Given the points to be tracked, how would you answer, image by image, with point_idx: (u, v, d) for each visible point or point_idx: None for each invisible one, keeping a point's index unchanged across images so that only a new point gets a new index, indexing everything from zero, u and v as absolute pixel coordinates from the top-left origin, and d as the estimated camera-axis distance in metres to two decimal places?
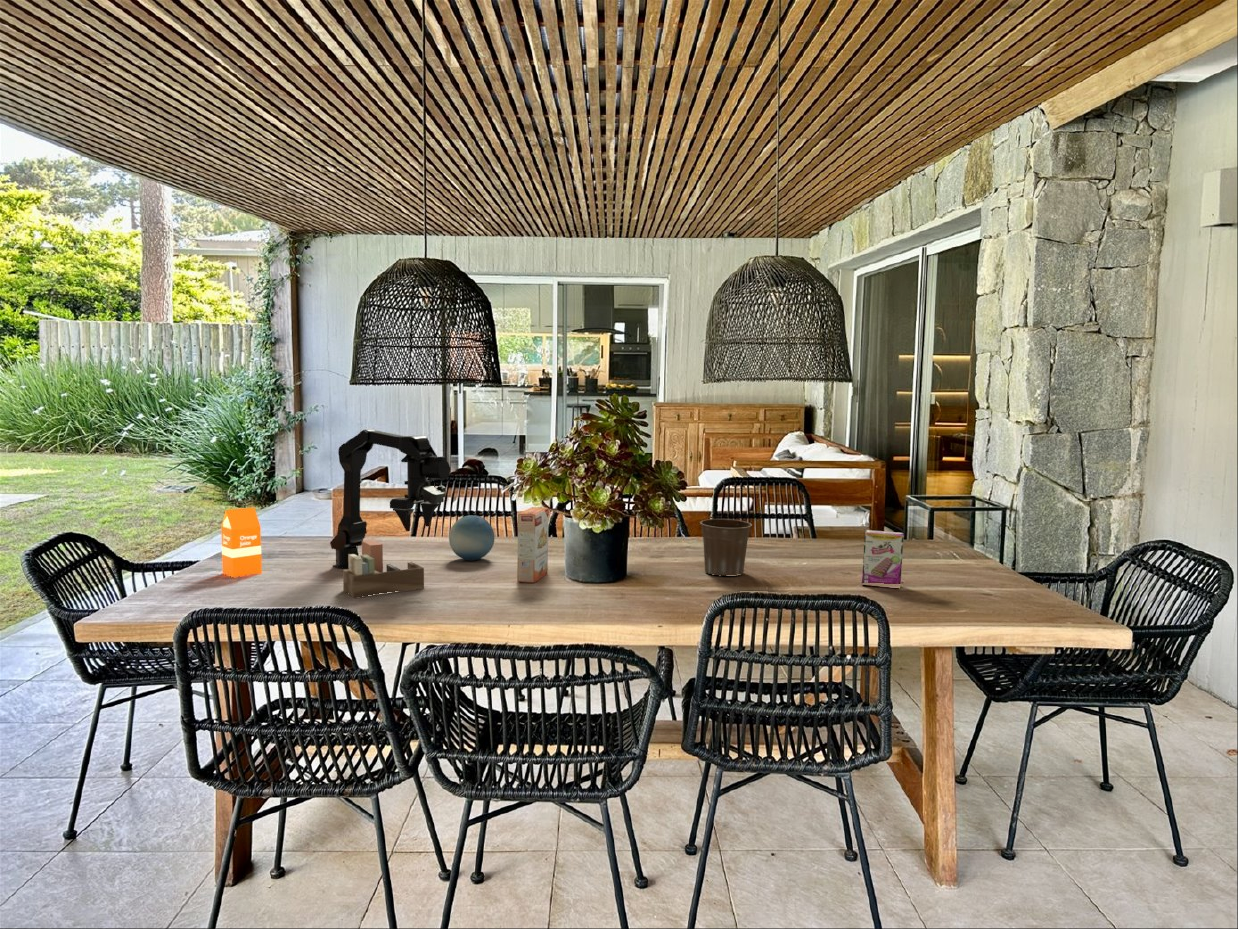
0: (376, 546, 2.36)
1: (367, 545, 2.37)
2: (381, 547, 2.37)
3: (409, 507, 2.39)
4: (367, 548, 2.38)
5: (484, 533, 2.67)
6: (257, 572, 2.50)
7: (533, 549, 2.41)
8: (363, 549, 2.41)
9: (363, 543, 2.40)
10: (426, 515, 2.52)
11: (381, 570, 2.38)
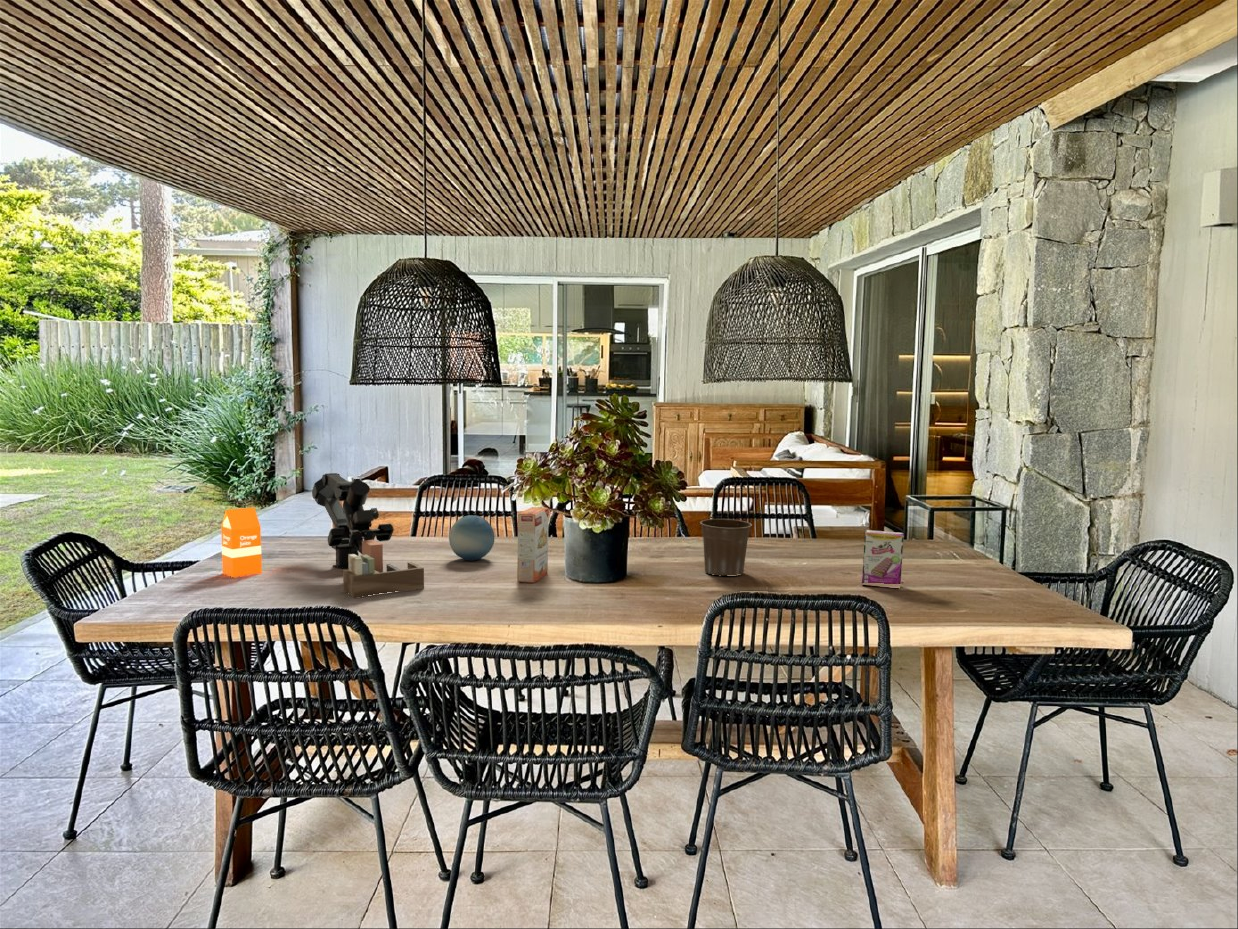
0: (376, 546, 2.36)
1: (367, 545, 2.37)
2: (381, 547, 2.37)
3: (338, 532, 2.41)
4: (367, 547, 2.38)
5: (484, 533, 2.67)
6: (257, 572, 2.50)
7: (533, 549, 2.41)
8: (363, 549, 2.41)
9: (363, 543, 2.40)
10: None
11: (381, 570, 2.38)
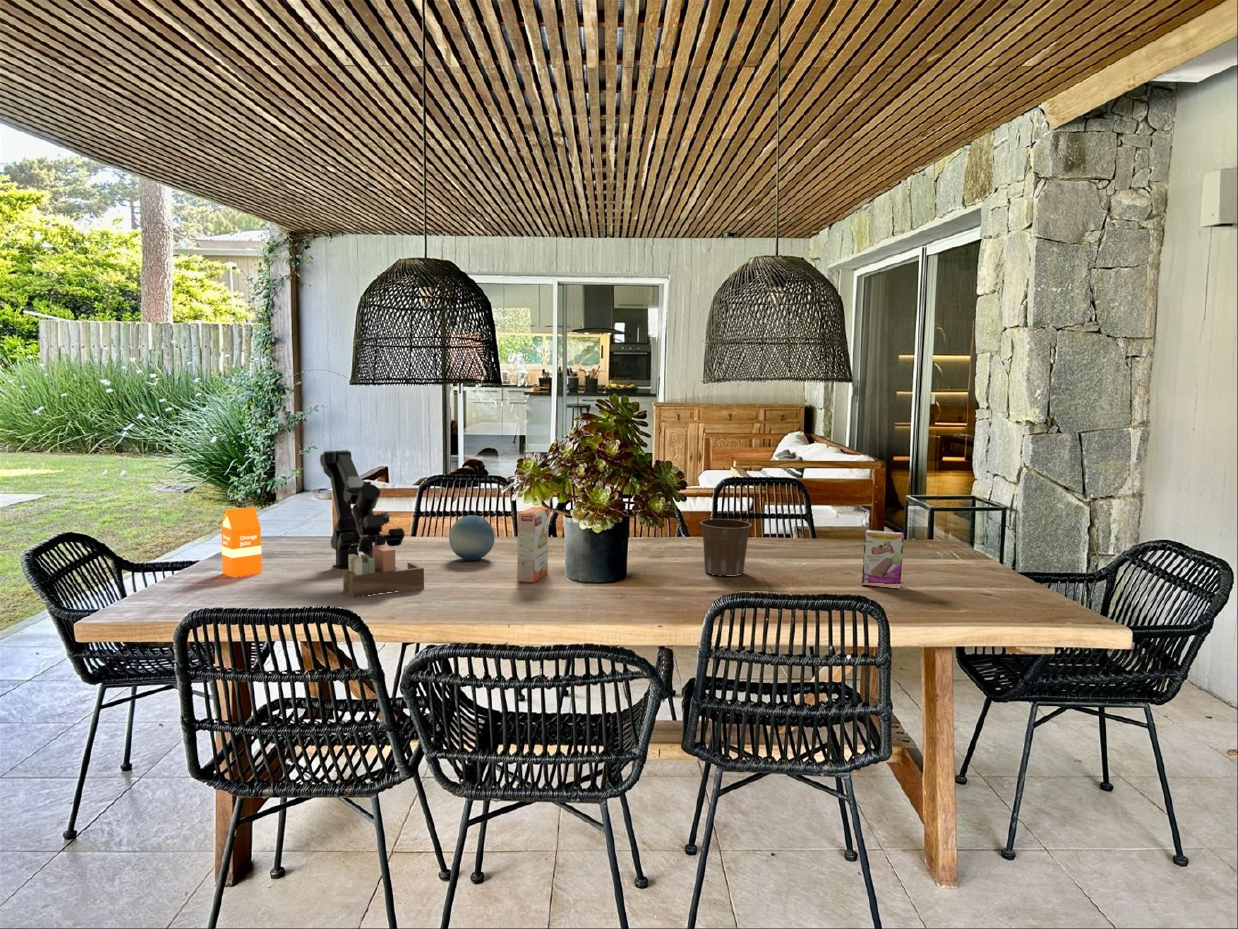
0: (389, 552, 2.29)
1: (379, 551, 2.30)
2: (394, 552, 2.30)
3: (348, 537, 2.33)
4: (379, 553, 2.30)
5: (485, 533, 2.67)
6: (257, 572, 2.50)
7: (533, 549, 2.41)
8: (374, 555, 2.33)
9: (374, 549, 2.33)
10: None
11: None
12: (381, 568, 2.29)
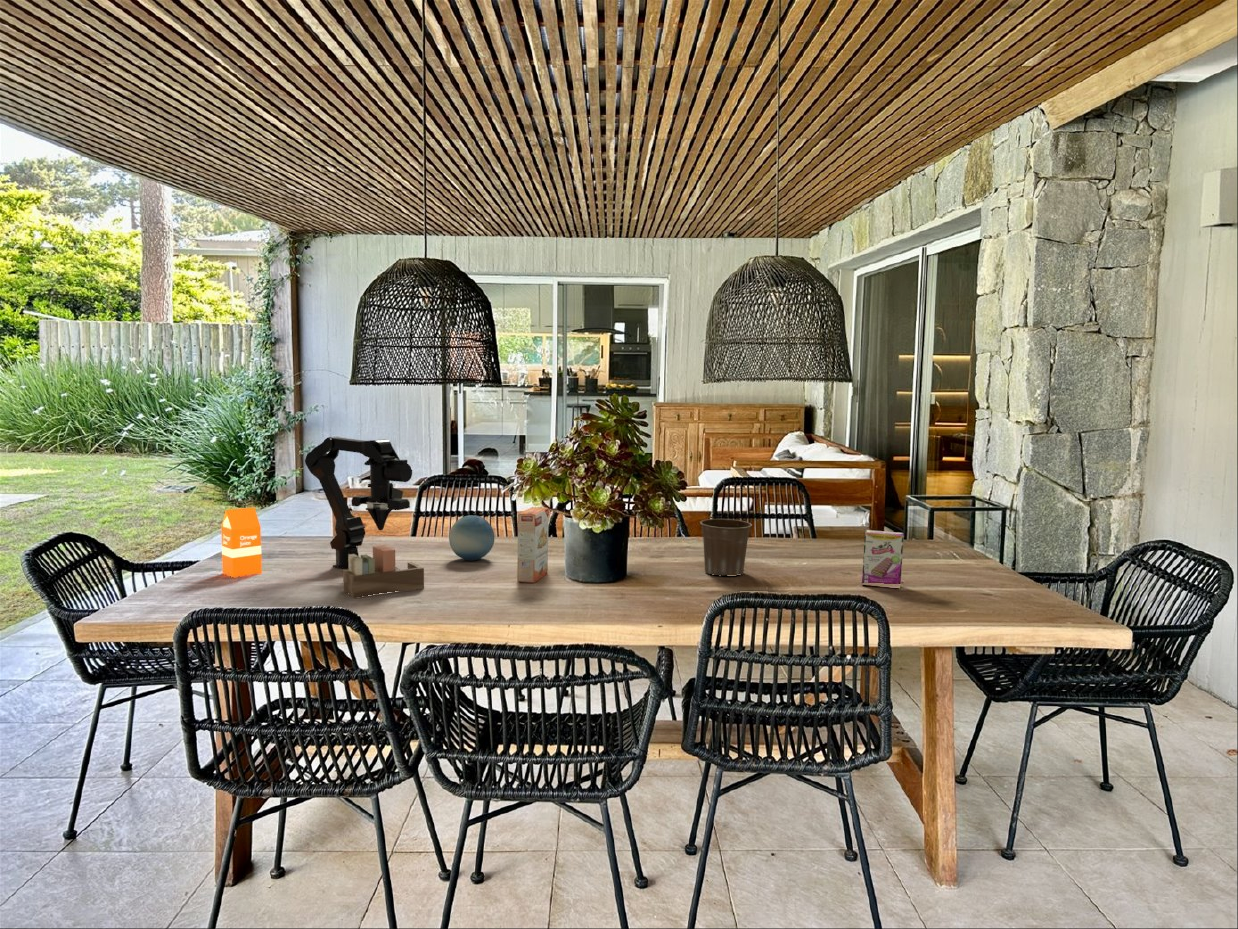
0: (389, 552, 2.29)
1: (379, 551, 2.30)
2: (394, 553, 2.30)
3: None
4: (379, 553, 2.30)
5: (484, 533, 2.67)
6: (257, 572, 2.50)
7: (533, 549, 2.41)
8: (374, 555, 2.33)
9: (374, 549, 2.33)
10: None
11: None
12: (381, 568, 2.29)
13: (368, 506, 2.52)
